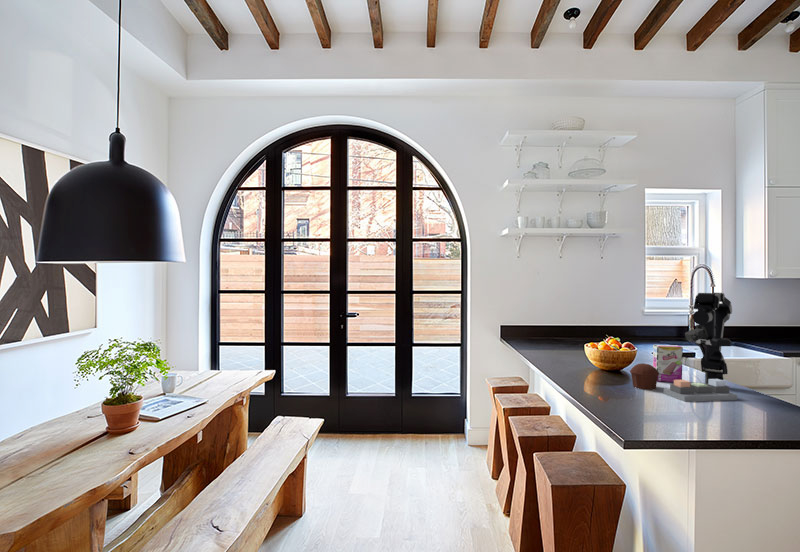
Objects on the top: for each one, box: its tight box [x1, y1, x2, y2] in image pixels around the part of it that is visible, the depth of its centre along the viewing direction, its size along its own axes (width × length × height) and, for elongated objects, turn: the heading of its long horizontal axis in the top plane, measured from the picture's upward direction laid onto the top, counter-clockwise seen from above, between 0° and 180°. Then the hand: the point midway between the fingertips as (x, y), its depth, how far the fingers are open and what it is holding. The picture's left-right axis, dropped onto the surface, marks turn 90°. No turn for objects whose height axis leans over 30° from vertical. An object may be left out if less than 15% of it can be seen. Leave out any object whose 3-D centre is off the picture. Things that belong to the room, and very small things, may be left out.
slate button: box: [708, 379, 726, 386], centre depth 186 cm, size 4×4×3 cm
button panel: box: [663, 382, 738, 402], centre depth 185 cm, size 12×22×4 cm, turn 96°
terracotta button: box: [673, 379, 691, 387], centre depth 184 cm, size 4×4×3 cm
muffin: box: [629, 362, 659, 391], centre depth 201 cm, size 12×11×10 cm
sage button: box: [690, 382, 708, 387], centre depth 185 cm, size 4×4×3 cm
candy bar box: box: [652, 344, 684, 383], centre depth 213 cm, size 11×5×16 cm, turn 84°
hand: (706, 360), depth 193 cm, fingers closed
